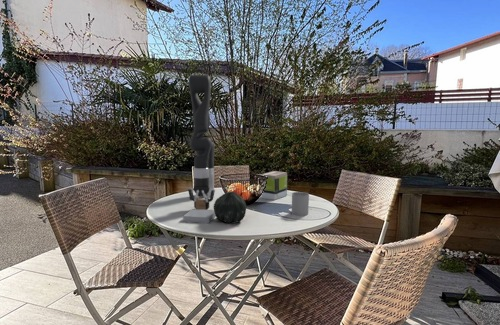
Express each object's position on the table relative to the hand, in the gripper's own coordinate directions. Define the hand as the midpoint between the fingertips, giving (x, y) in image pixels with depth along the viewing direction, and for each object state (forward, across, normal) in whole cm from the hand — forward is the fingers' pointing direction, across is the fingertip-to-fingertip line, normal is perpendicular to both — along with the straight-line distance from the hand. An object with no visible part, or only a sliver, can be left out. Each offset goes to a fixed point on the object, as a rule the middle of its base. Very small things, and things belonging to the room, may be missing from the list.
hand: (201, 208), depth 161 cm
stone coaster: (0, -4, +14) cm, 14 cm away
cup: (+1, -50, -4) cm, 50 cm away
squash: (+1, -19, +15) cm, 24 cm away
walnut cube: (0, 0, 0) cm, 0 cm away
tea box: (+1, -34, -36) cm, 50 cm away
